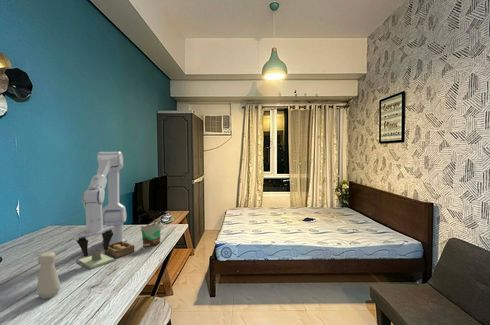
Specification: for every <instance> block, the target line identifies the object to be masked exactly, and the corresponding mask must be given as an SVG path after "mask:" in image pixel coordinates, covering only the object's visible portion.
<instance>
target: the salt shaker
mask: <svg viewBox="0 0 490 325" xmlns="http://www.w3.org/2000/svg"><path fill="white" fill-rule="evenodd" d="M56 257H57V256H56V253H55V252H53V251H52V252H51V251H49V252H45V253H42V254H39V256H38V257H37V262H38V264H40V267H39V272H38V278H37V286H36V294H37V296H38V297H39V298H40V299H42V300H47V299H50V298H51V299H52V298H53V297H55V296H56V295H58V293H59V290H60V288H61V282H60V279H59V275H58V273H57V269H56V266H55V262H54V261H55V260H56V259H57V258H56Z"/></svg>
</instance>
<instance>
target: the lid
mask: <svg viewBox="0 0 490 325" xmlns="http://www.w3.org/2000/svg"><path fill="white" fill-rule="evenodd" d="M114 259H115V258H114V257H112V256H110V255H108V254H105V253H102V252H101V249H99V248H97V249H92V250H91V255H90V256H88V257H83V258H80V259H78V261H79V262H81V263H83V264H85V265H87V266H88V267H90V268H92V267H95V266H98V265H101V264H104V263H106V262H109V261H112V260H114Z"/></svg>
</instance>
